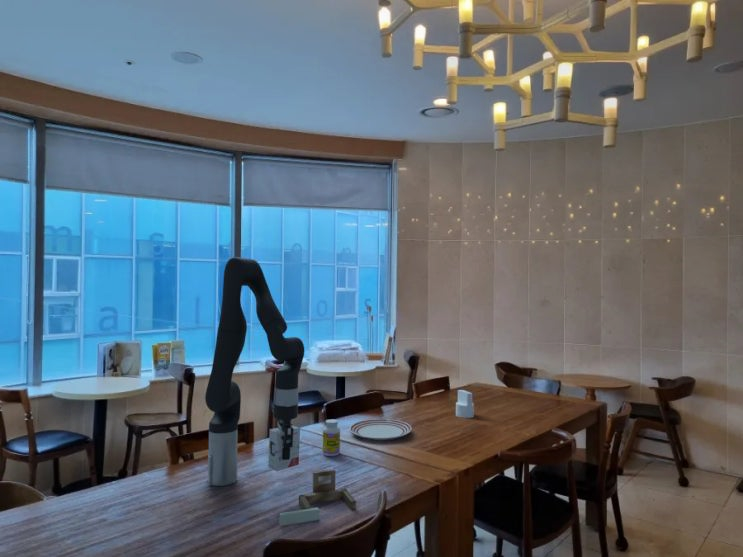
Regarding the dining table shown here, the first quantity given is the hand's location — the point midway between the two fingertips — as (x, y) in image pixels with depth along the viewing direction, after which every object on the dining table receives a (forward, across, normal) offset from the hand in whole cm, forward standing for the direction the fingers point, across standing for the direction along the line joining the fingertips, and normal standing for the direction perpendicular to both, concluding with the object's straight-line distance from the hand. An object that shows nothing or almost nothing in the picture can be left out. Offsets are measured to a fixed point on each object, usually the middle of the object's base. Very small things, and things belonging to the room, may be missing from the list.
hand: (283, 455), depth 160 cm
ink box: (+4, 0, 0) cm, 4 cm away
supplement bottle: (+13, -34, +25) cm, 45 cm away
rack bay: (+13, +9, +12) cm, 19 cm away
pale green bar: (+13, +17, +2) cm, 22 cm away
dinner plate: (+13, -53, +53) cm, 76 cm away
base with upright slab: (+12, -68, +105) cm, 126 cm away
